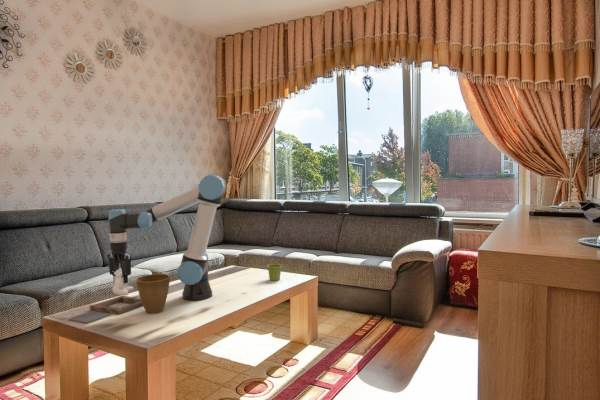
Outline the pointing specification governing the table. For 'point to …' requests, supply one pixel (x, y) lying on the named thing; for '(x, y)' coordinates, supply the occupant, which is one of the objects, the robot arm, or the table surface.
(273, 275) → the plant pot
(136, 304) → the pocket frame
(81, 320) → the slate mat
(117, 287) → the white creature statuette
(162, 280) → the plant pot
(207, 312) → the table surface
